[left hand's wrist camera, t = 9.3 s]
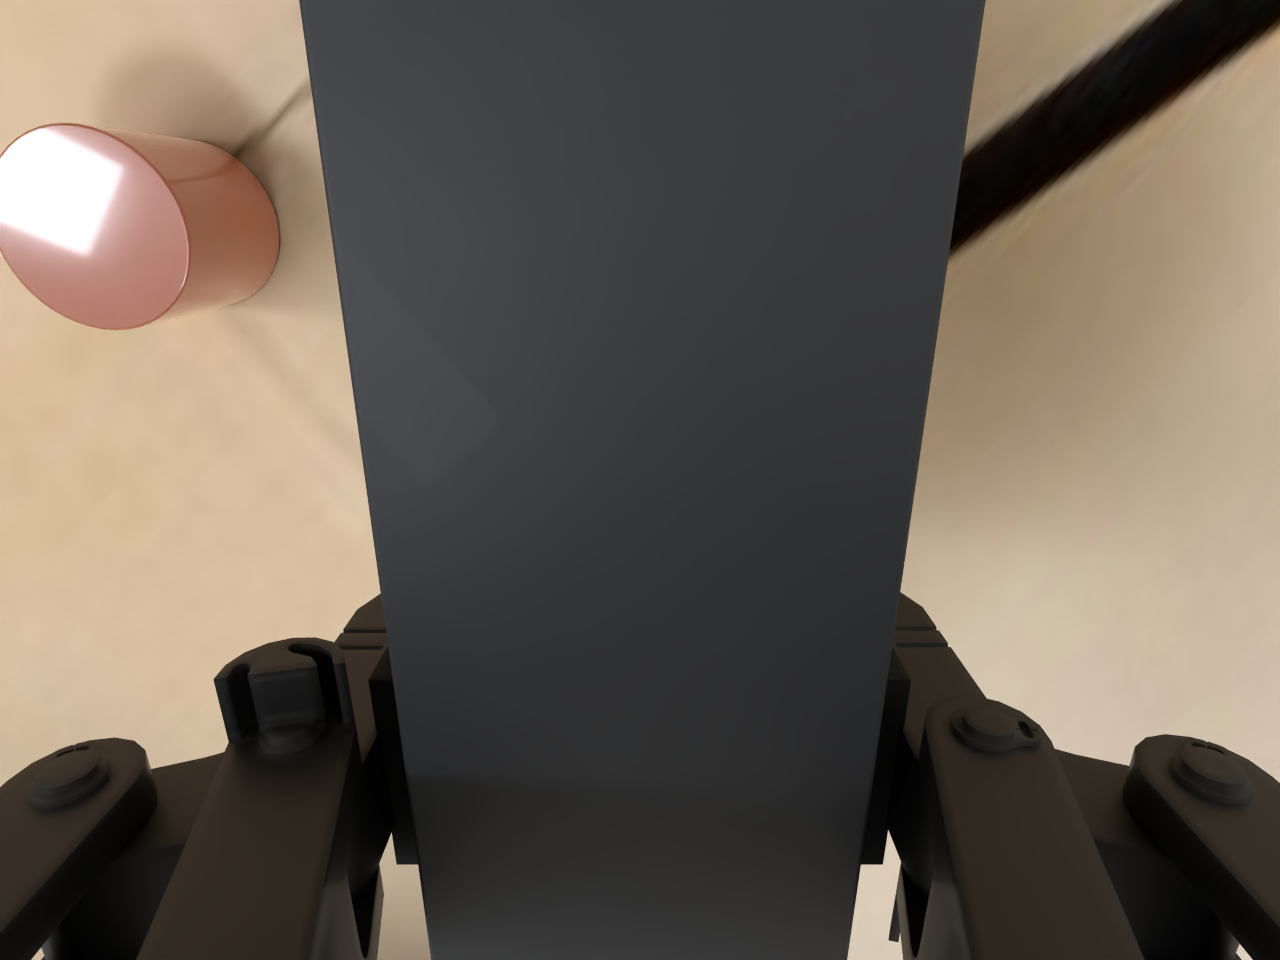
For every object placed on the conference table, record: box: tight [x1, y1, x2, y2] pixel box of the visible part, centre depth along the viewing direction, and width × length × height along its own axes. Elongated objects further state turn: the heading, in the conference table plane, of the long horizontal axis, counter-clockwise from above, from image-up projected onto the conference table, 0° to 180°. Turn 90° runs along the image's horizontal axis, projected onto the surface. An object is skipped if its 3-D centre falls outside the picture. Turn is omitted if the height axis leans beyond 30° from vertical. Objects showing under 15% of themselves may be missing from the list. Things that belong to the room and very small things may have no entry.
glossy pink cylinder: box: [0, 123, 279, 330], centre depth 21 cm, size 5×5×5 cm
